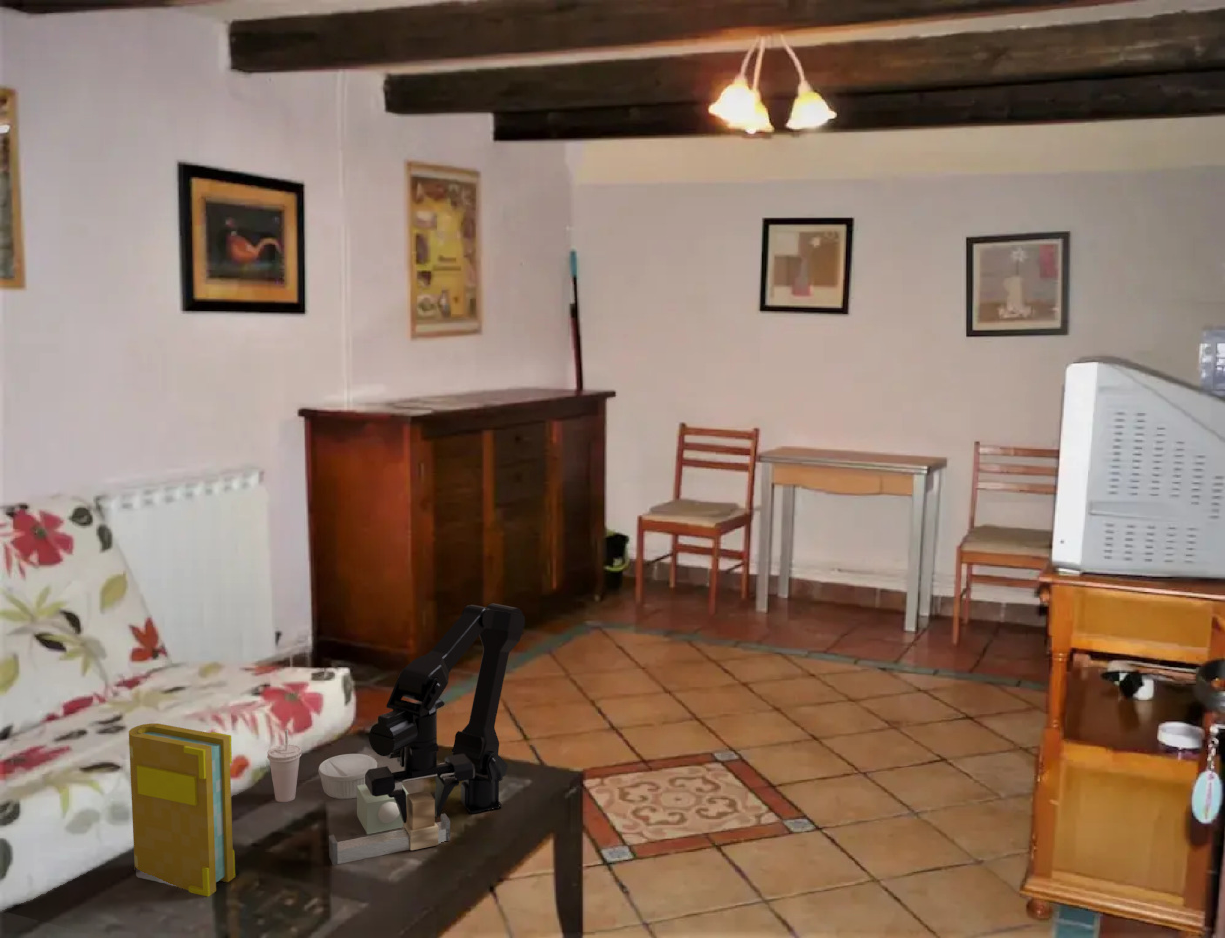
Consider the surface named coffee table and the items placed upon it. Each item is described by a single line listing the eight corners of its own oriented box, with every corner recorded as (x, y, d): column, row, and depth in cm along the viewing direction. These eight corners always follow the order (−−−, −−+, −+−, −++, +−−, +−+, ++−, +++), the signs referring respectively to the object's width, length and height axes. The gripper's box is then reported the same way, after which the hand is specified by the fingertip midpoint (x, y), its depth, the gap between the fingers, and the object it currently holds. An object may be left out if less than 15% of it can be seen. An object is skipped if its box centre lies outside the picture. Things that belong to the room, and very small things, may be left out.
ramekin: (307, 796, 211) (307, 770, 210) (340, 773, 221) (340, 749, 220) (356, 806, 207) (355, 780, 206) (387, 783, 217) (387, 758, 217)
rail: (445, 833, 197) (445, 813, 196) (450, 841, 194) (450, 820, 194) (329, 857, 188) (329, 835, 187) (332, 865, 185) (332, 843, 184)
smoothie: (292, 806, 206) (290, 737, 204) (261, 803, 207) (260, 734, 205) (308, 792, 212) (307, 725, 210) (278, 788, 213) (277, 721, 211)
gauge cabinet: (398, 807, 207) (398, 778, 206) (410, 826, 199) (410, 795, 198) (357, 815, 203) (356, 785, 202) (367, 834, 196) (367, 803, 195)
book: (235, 876, 180) (231, 735, 177) (208, 896, 174) (203, 750, 170) (154, 857, 186) (148, 720, 182) (125, 876, 180) (118, 734, 176)
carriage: (429, 832, 197) (429, 788, 195) (438, 845, 192) (438, 800, 191) (403, 837, 194) (402, 793, 193) (411, 850, 190) (410, 805, 189)
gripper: (456, 713, 202) (456, 791, 204) (357, 728, 193) (358, 809, 196) (476, 734, 192) (475, 816, 194) (372, 751, 183) (373, 836, 186)
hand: (420, 818), depth 193 cm, fingers open, 6 cm apart
